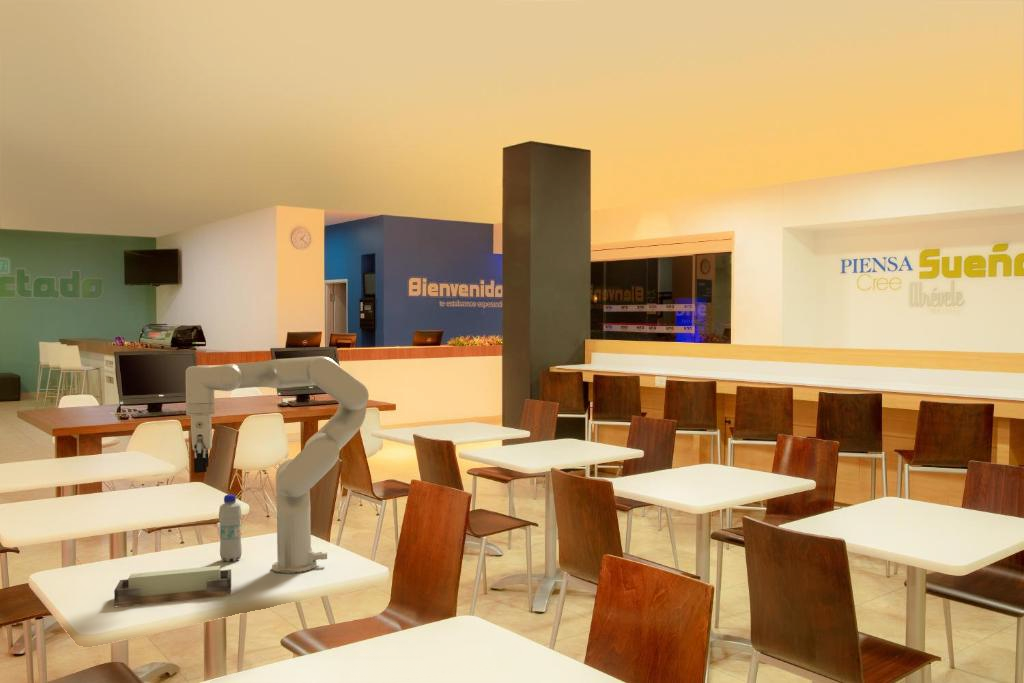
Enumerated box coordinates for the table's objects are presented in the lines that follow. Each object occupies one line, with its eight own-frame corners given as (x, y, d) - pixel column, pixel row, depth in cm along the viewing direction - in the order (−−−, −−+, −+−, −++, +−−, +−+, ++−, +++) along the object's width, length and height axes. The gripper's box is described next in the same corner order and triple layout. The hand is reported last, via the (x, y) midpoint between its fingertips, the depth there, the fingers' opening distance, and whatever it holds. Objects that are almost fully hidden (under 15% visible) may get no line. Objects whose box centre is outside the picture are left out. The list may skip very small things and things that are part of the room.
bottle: (238, 562, 245) (237, 496, 245) (215, 563, 245) (214, 496, 245) (245, 556, 252) (244, 492, 252) (224, 557, 252) (223, 492, 252)
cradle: (231, 584, 223) (231, 569, 223) (230, 595, 214) (230, 579, 214) (120, 595, 214) (120, 579, 214) (114, 607, 205) (114, 590, 205)
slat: (220, 584, 219) (220, 565, 219) (219, 588, 216) (219, 569, 216) (131, 593, 213) (130, 573, 213) (128, 597, 209) (128, 578, 209)
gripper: (213, 411, 224) (214, 473, 224) (215, 406, 240) (216, 464, 240) (183, 412, 222) (184, 475, 222) (188, 407, 238) (189, 466, 238)
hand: (201, 469), depth 231 cm, fingers open, 9 cm apart
